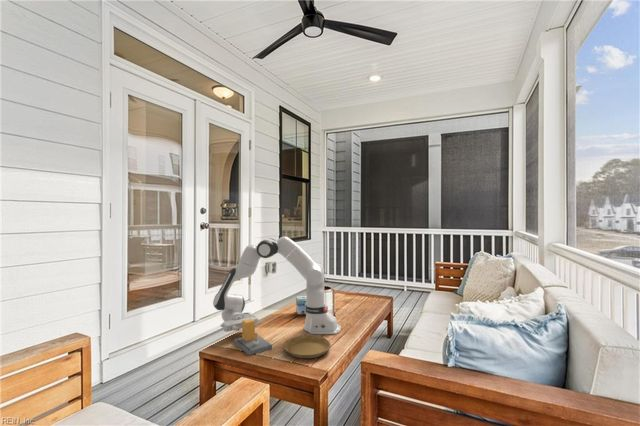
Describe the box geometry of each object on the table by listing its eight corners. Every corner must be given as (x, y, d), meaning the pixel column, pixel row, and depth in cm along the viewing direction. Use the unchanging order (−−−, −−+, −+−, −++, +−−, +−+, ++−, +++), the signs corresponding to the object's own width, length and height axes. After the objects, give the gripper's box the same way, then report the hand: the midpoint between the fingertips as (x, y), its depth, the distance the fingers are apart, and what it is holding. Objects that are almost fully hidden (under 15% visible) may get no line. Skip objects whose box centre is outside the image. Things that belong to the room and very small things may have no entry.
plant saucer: (296, 338, 182) (296, 332, 182) (336, 344, 173) (336, 338, 173) (275, 356, 159) (275, 350, 159) (320, 365, 151) (320, 358, 151)
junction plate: (234, 342, 176) (233, 328, 176) (255, 337, 184) (255, 323, 183) (248, 355, 161) (248, 339, 160) (271, 348, 168) (271, 333, 168)
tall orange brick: (250, 336, 179) (250, 318, 179) (254, 339, 175) (254, 320, 175) (242, 338, 176) (242, 320, 176) (246, 341, 172) (246, 323, 172)
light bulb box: (297, 314, 222) (297, 299, 222) (295, 311, 229) (295, 296, 228) (312, 313, 225) (312, 297, 225) (310, 310, 231) (310, 295, 231)
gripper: (219, 319, 183) (228, 326, 172) (252, 311, 196) (262, 317, 184) (219, 330, 183) (228, 337, 172) (252, 322, 196) (262, 328, 185)
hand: (246, 327), depth 178 cm, fingers open, 8 cm apart
